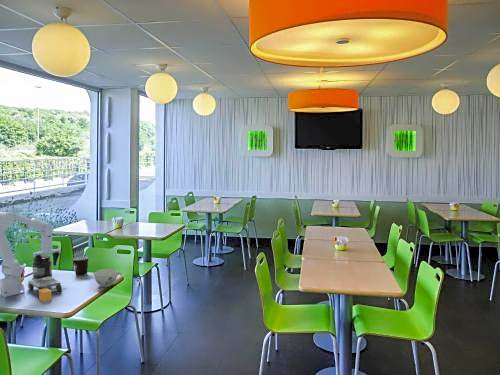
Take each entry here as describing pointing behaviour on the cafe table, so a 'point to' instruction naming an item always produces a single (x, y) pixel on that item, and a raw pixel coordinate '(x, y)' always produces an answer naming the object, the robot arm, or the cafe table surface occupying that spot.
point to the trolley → (45, 284)
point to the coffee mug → (81, 265)
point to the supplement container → (45, 270)
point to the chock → (45, 295)
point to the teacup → (106, 277)
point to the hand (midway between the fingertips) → (47, 266)
